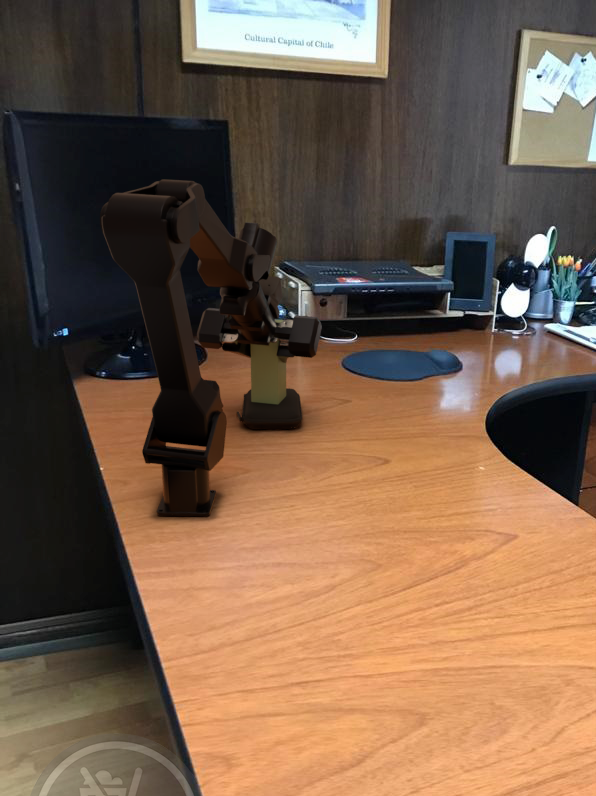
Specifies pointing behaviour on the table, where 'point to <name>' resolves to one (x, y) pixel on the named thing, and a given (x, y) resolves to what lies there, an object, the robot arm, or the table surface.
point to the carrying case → (272, 412)
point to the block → (267, 374)
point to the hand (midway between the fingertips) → (271, 358)
